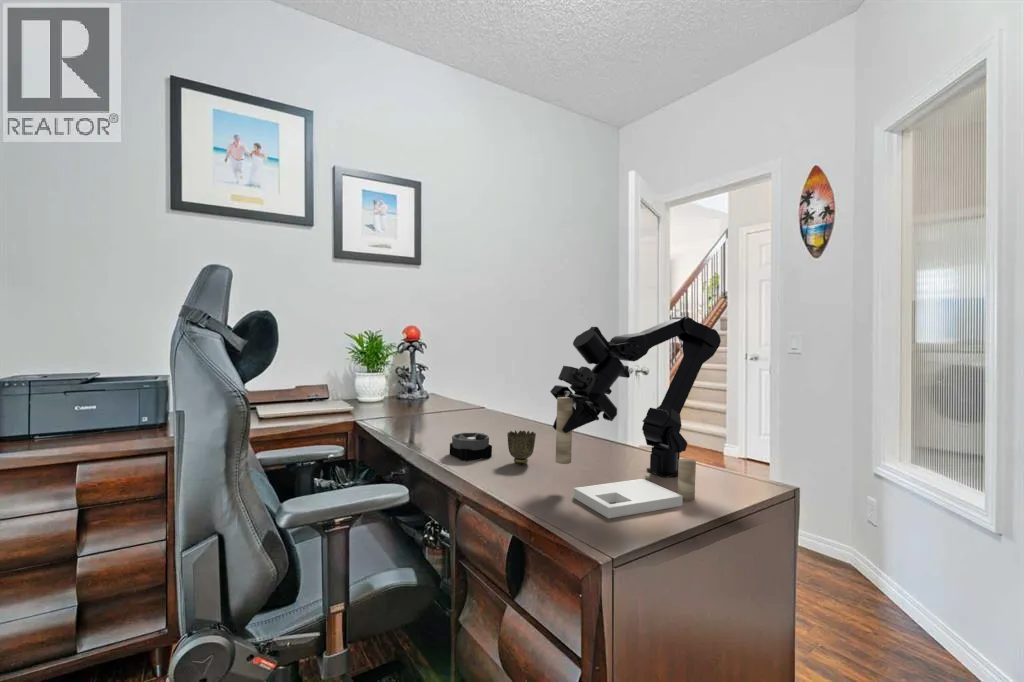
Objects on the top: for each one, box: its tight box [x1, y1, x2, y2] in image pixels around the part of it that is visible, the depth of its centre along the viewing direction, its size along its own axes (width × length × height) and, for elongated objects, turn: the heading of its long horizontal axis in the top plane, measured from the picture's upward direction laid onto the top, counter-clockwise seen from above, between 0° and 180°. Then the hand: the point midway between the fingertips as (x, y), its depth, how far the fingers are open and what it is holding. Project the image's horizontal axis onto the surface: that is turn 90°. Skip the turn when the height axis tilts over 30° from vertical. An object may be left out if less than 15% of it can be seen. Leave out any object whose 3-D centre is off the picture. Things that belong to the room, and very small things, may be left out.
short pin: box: [677, 458, 697, 502], centre depth 101 cm, size 3×3×8 cm
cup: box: [507, 429, 537, 466], centre depth 125 cm, size 8×7×8 cm
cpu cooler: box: [449, 432, 493, 462], centre depth 131 cm, size 10×6×10 cm
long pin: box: [555, 397, 573, 465], centre depth 105 cm, size 3×3×14 cm
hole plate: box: [573, 478, 683, 519], centre depth 98 cm, size 18×12×2 cm, turn 115°
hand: (558, 430), depth 105 cm, fingers closed on long pin, 3 cm apart
